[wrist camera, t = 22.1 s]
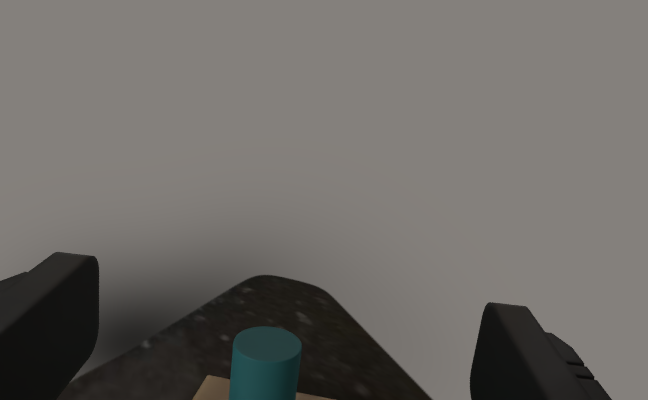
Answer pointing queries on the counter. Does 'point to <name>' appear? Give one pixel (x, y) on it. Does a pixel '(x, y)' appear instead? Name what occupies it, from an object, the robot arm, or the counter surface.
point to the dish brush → (265, 365)
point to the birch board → (216, 390)
